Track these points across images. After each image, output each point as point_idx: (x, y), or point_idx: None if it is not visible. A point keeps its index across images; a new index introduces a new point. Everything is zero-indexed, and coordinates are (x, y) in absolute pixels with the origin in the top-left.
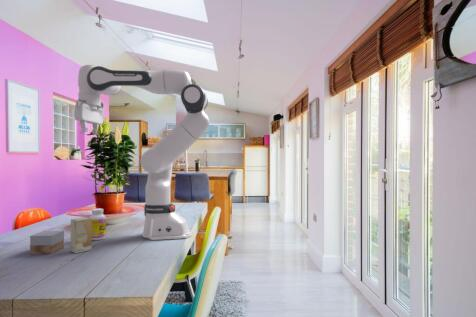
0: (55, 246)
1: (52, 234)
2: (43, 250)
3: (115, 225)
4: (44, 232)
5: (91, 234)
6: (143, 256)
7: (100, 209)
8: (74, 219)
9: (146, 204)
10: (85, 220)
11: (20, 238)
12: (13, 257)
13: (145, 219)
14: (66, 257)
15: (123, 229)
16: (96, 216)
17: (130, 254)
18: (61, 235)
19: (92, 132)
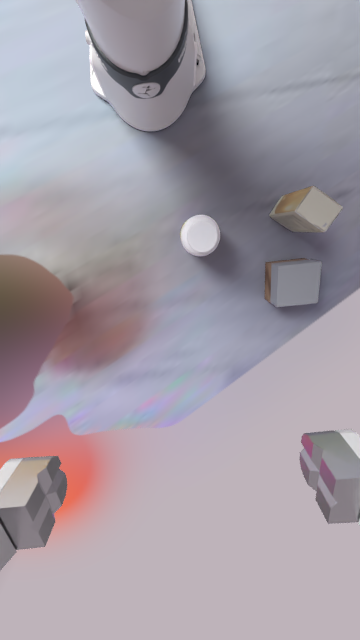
0: (296, 260)
1: (310, 267)
2: None
3: (66, 264)
4: (291, 296)
5: (295, 191)
6: (340, 33)
7: (204, 226)
8: (330, 220)
9: (170, 55)
10: (325, 194)
11: (202, 380)
12: (316, 307)
13: (168, 92)
14: None
15: (103, 219)
16: (216, 229)
17: (321, 79)
18: (284, 264)
19: (61, 496)
